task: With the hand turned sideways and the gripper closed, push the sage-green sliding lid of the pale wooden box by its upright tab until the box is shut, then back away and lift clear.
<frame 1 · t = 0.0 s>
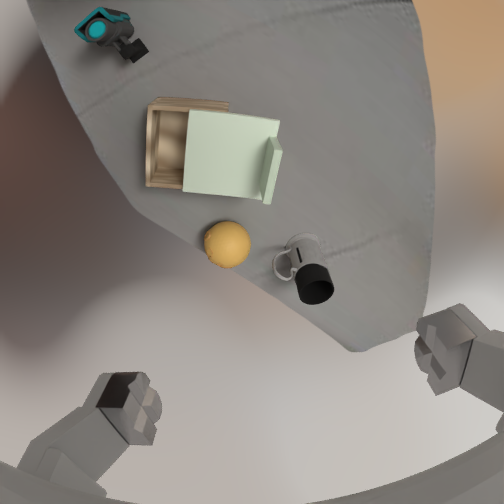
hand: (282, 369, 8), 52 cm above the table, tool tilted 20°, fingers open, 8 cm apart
lid: (228, 163, 45), point 12 cm above the table, slide at 7.0 cm
wooden box: (189, 136, 53), on the table
stress ball: (227, 229, 68), on the table
glass holder: (293, 243, 72), on the table
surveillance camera: (127, 38, 40), on the table
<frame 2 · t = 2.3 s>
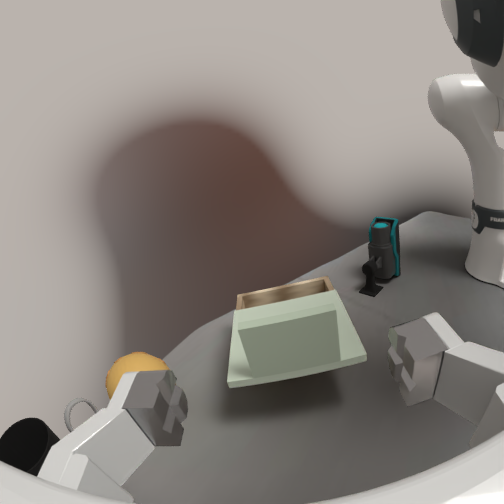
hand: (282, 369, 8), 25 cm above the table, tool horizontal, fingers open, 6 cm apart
lid: (286, 312, 34), point 12 cm above the table, slide at 7.0 cm
wooden box: (294, 348, 45), on the table
stress ball: (157, 411, 38), on the table
glass holder: (117, 500, 23), on the table
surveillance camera: (379, 283, 57), on the table
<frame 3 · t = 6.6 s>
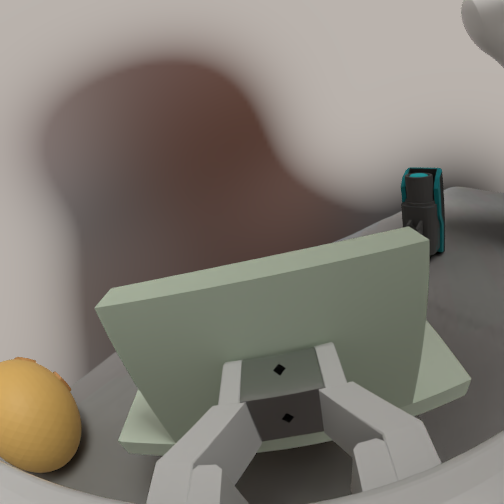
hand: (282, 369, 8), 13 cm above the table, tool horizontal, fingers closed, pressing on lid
lid: (271, 282, 15), point 12 cm above the table, slide at 6.1 cm, touching gripper
stress ball: (63, 454, 18), on the table
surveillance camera: (417, 263, 37), on the table
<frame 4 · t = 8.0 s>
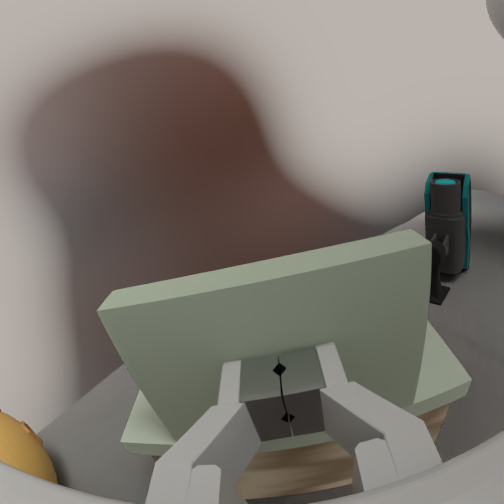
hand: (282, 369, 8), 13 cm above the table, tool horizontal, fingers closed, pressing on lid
lid: (272, 282, 15), point 12 cm above the table, slide at -0.1 cm, touching gripper
wooden box: (302, 417, 20), on the table
stress ball: (42, 503, 12), on the table
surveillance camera: (440, 282, 31), on the table
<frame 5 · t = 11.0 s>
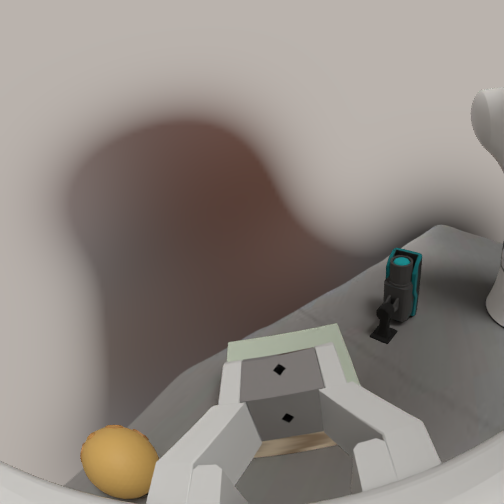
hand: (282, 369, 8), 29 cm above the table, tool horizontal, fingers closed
lid: (285, 357, 31), point 12 cm above the table, slide at 0.0 cm
wooden box: (295, 412, 36), on the table
stress ball: (140, 479, 29), on the table
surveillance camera: (392, 324, 48), on the table
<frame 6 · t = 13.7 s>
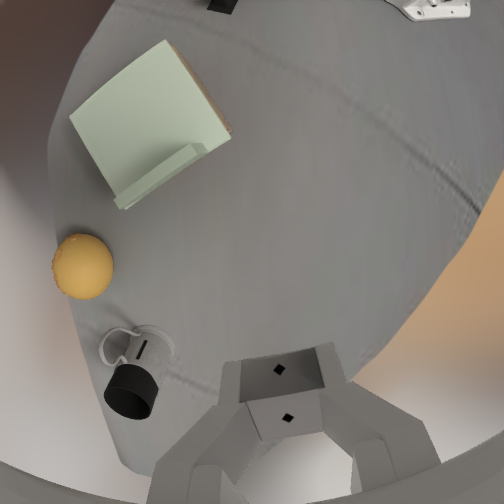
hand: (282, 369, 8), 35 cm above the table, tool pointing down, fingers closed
lid: (131, 122, 27), point 12 cm above the table, slide at 0.0 cm
wooden box: (162, 123, 38), on the table
stress ball: (97, 253, 45), on the table
glass holder: (146, 332, 50), on the table
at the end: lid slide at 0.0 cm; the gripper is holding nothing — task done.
